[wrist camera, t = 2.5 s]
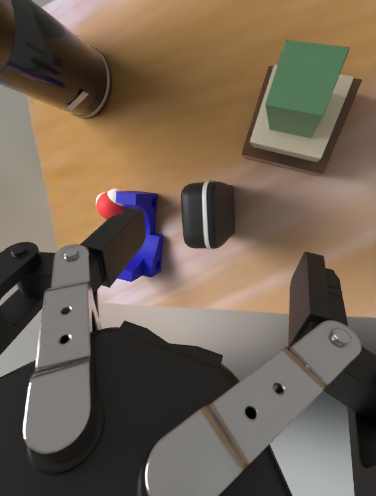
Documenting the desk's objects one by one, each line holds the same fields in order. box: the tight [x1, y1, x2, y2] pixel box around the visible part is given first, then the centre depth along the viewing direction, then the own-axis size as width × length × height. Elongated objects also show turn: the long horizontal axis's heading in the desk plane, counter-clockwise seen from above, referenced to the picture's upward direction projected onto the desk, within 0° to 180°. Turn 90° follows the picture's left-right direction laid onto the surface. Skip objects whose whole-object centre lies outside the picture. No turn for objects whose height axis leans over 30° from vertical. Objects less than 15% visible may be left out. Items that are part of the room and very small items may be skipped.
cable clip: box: [116, 191, 163, 282], centre depth 36 cm, size 12×4×6 cm, turn 174°
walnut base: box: [242, 66, 362, 176], centre depth 28 cm, size 9×9×4 cm
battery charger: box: [181, 181, 235, 249], centre depth 29 cm, size 7×4×11 cm, turn 4°
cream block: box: [250, 65, 354, 162], centre depth 25 cm, size 7×7×3 cm
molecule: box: [96, 189, 126, 219], centre depth 38 cm, size 5×5×4 cm
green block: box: [265, 40, 349, 138], centre depth 20 cm, size 4×4×8 cm
